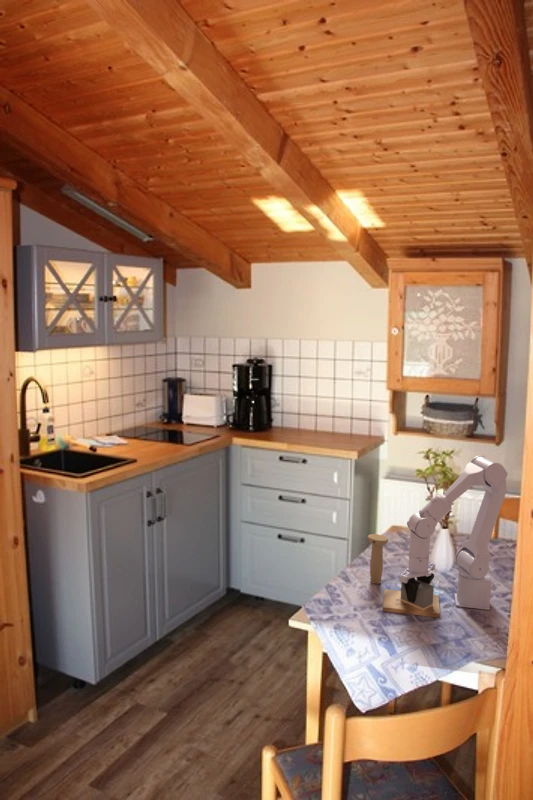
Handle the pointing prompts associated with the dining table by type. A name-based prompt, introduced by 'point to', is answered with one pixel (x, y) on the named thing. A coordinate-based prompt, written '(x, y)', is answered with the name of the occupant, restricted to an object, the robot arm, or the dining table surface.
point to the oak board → (408, 605)
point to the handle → (376, 557)
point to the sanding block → (420, 596)
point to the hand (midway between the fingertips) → (416, 598)
